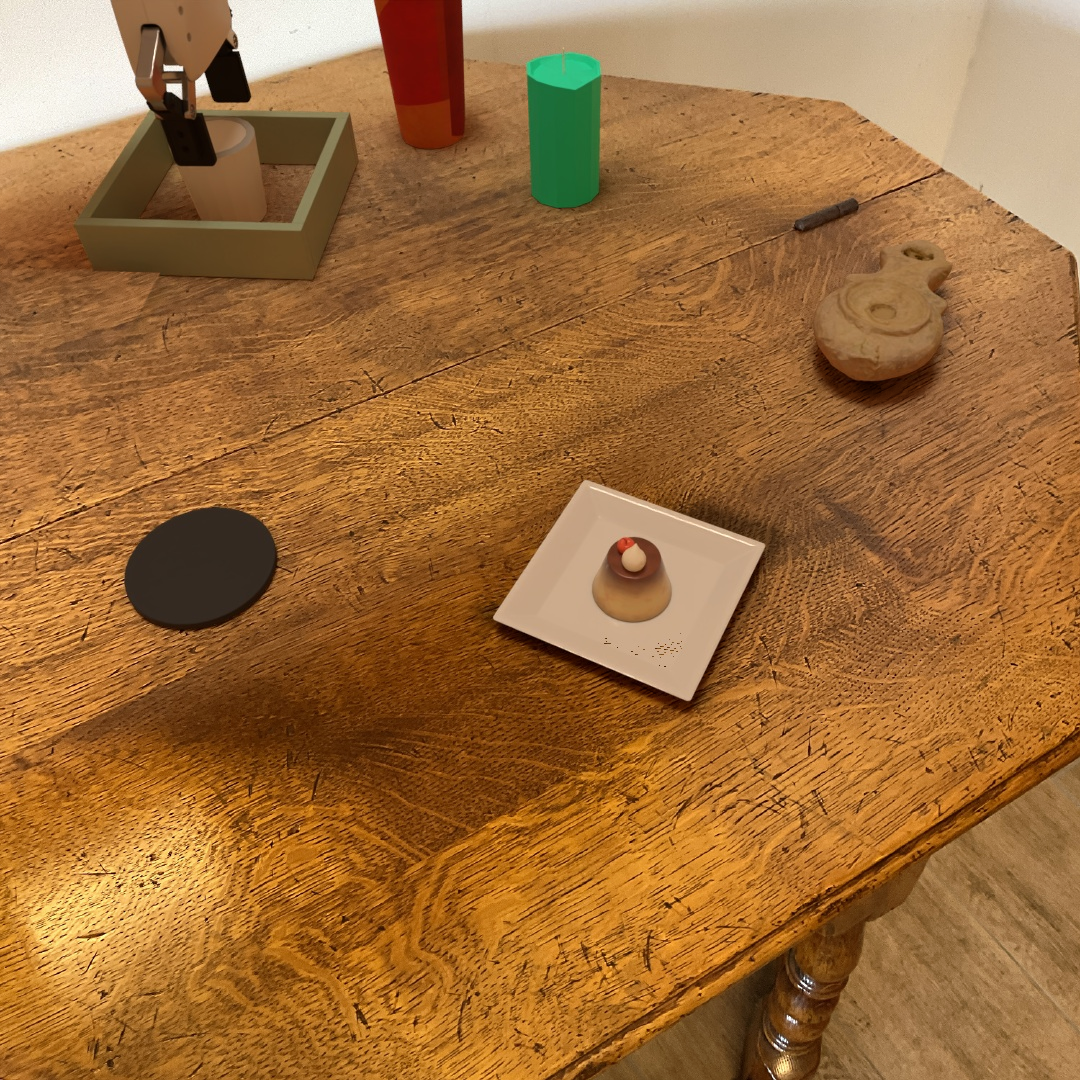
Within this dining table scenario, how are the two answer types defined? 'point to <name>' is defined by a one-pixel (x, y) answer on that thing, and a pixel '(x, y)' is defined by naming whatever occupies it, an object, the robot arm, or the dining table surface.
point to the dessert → (633, 587)
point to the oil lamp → (886, 314)
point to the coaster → (200, 568)
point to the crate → (222, 245)
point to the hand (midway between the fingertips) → (215, 131)
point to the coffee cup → (425, 68)
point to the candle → (564, 128)
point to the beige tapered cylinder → (228, 175)
